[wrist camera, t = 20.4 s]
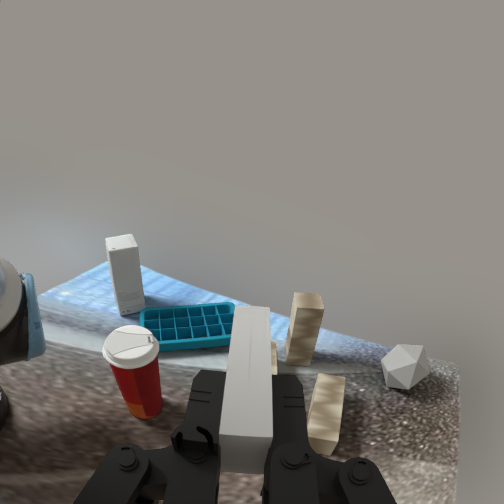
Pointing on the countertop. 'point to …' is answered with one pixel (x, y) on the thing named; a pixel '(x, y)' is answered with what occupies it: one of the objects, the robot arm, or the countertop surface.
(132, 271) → the skincare box
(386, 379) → the die
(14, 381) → the countertop surface
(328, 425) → the post
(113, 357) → the paper cup
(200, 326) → the ice cube tray
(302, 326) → the post
